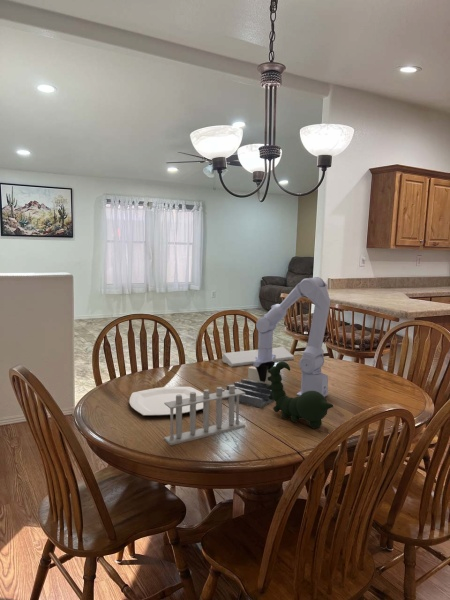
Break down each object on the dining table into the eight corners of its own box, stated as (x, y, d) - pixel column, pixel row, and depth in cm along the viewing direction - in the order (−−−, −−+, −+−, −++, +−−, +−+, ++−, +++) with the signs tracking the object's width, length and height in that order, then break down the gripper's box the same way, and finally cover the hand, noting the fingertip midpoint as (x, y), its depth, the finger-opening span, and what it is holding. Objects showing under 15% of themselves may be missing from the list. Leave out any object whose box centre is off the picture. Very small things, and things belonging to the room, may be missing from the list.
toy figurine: (262, 418, 143) (324, 437, 123) (260, 361, 142) (322, 372, 122) (282, 411, 149) (343, 429, 129) (280, 357, 148) (341, 367, 128)
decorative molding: (292, 364, 213) (281, 355, 221) (293, 356, 211) (283, 346, 219) (230, 372, 198) (222, 361, 206) (232, 363, 196) (223, 353, 205)
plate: (124, 396, 157) (124, 391, 157) (194, 388, 167) (194, 383, 167) (136, 424, 133) (136, 418, 132) (218, 413, 142) (218, 408, 142)
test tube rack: (237, 422, 135) (237, 381, 133) (245, 427, 131) (246, 385, 130) (163, 439, 122) (163, 395, 120) (170, 446, 118) (170, 400, 117)
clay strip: (281, 387, 169) (281, 372, 169) (278, 388, 167) (278, 373, 167) (251, 380, 177) (251, 366, 177) (247, 381, 175) (248, 367, 175)
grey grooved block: (282, 395, 160) (283, 387, 160) (261, 408, 147) (261, 399, 146) (242, 385, 170) (242, 378, 170) (218, 396, 157) (218, 389, 157)
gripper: (265, 342, 179) (264, 374, 180) (247, 349, 167) (246, 382, 169) (280, 345, 175) (279, 377, 176) (262, 351, 163) (261, 386, 165)
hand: (264, 380), depth 172 cm, fingers closed on clay strip, 2 cm apart
